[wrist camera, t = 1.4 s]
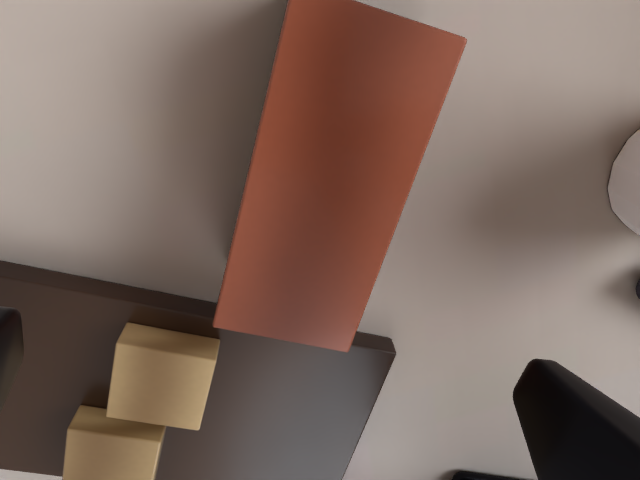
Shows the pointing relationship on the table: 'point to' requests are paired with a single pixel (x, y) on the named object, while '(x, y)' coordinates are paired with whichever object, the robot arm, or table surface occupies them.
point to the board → (224, 394)
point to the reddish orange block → (332, 168)
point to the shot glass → (627, 184)
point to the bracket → (638, 289)
